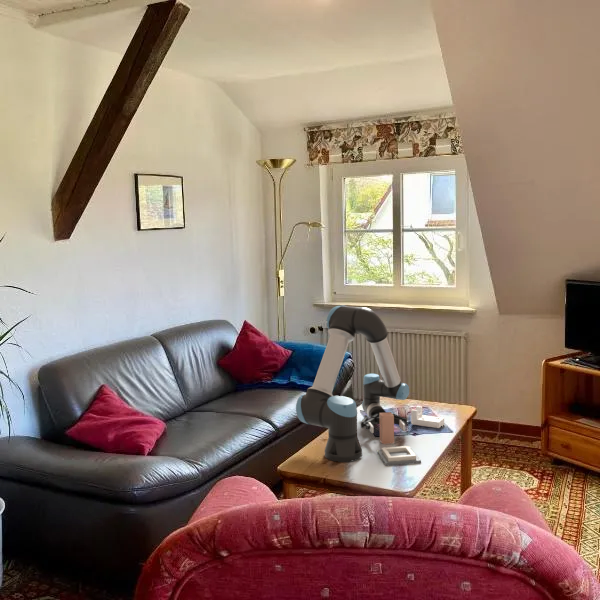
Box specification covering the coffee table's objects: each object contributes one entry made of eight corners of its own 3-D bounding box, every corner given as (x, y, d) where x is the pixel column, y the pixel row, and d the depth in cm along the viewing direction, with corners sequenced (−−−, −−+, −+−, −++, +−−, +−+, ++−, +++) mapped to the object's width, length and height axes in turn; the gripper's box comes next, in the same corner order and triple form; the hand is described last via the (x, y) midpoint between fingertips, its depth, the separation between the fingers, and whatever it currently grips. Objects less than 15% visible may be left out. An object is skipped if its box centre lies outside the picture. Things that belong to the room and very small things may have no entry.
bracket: (411, 426, 303) (411, 410, 302) (416, 421, 309) (416, 405, 308) (439, 430, 296) (438, 413, 295) (444, 425, 302) (444, 409, 301)
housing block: (382, 444, 281) (382, 416, 279) (379, 440, 286) (379, 412, 284) (394, 443, 281) (393, 415, 280) (391, 439, 286) (390, 412, 284)
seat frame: (385, 465, 257) (385, 459, 257) (377, 452, 271) (377, 446, 270) (421, 462, 259) (420, 456, 258) (410, 450, 272) (410, 444, 272)
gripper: (403, 419, 303) (417, 435, 282) (349, 423, 300) (359, 439, 279) (403, 403, 302) (417, 418, 281) (349, 407, 299) (359, 422, 278)
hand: (388, 428), depth 280 cm, fingers open, 13 cm apart
